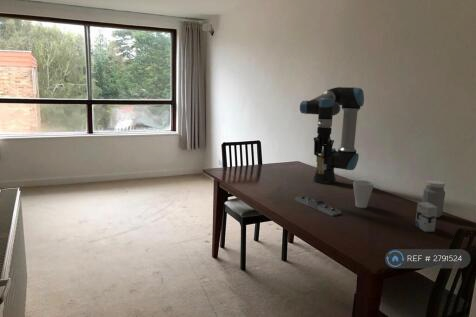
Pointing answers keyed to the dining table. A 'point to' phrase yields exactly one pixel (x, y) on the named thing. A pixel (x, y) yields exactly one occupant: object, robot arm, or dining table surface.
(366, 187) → the cup
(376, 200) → the dining table surface
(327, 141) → the robot arm
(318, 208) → the grey long bar piece
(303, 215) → the dining table surface
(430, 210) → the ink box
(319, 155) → the pin
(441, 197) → the jar
